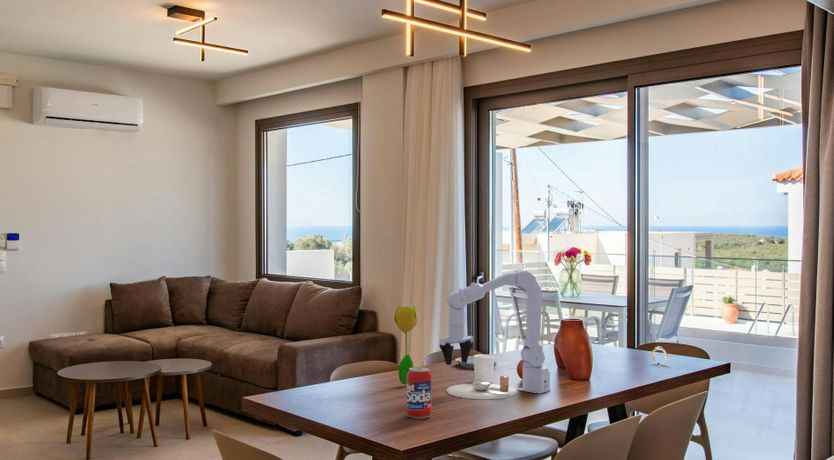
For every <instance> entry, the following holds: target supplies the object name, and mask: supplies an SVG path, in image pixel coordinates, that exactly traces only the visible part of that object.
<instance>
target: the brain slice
mask: <svg viewBox="0 0 834 460" xmlns="http://www.w3.org/2000/svg"><path fill="white" fill-rule="evenodd" d="M454 361H455V362H457V363H458V364H459V365H460V366H461V367H462V368H464V369H470V370H471V369H473V370H474V355H471V356H470V355H469V356H468V359H467V363H464V362H462V361H461V356H460V357H457V358H455V359H454ZM496 365H497V362H496V361H495V360H494V368H495V367H496Z"/></svg>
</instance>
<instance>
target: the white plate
mask: <svg viewBox="0 0 834 460" xmlns="http://www.w3.org/2000/svg"><path fill="white" fill-rule="evenodd" d="M472 385H473V383H462V384H456V385H452V386H449V387H447V388H446V393H447V394H448V395H450V396H452V395H453V397H456V398H460V397H461V399H468V400H482V401H483V400H484V401H485V400H486V401H488V400H501V399H502V400H503V399H507V398H512V397H514V396H516V394H517V390H516V389H515V388H513V387H510V386H509V391H508V392H499V391H494V390H475V389H473V388H472ZM490 387H496V388H500V384H495V383H490Z"/></svg>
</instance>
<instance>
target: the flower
mask: <svg viewBox="0 0 834 460" xmlns="http://www.w3.org/2000/svg"><path fill="white" fill-rule="evenodd" d="M393 320H394V322H395V324H396V326H397V327H398V329H399V330H400V331H401V332H402V333H404V335H405V336H404V337H405V355H404V356H403V357H402V359H401V360H400V362H399V364H398V378H399V382H400V383H401V384H403V385H404V387H407V373H408V372H409V369H410V368H414V362H413V360H412V357H411V356H410V354H407V353H408V352H407V351H408V350H407V349H408V347H407V345H408V332H411V331H412V330H413V329H414V327H415V326H416V325H417V324H418V314H417V312H416V308H415V306H410V307H409V306H406V305H405V306H400V305H397V306H396V309H395V313H394V319H393Z"/></svg>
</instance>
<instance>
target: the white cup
mask: <svg viewBox="0 0 834 460" xmlns="http://www.w3.org/2000/svg"><path fill="white" fill-rule="evenodd" d="M473 356H474V369H473V371H474V381H487V382H490V384H493V382H494V369H495V367H494V361H495V356H494V355H492V354H481V353H480V354H474V355H473Z"/></svg>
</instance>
